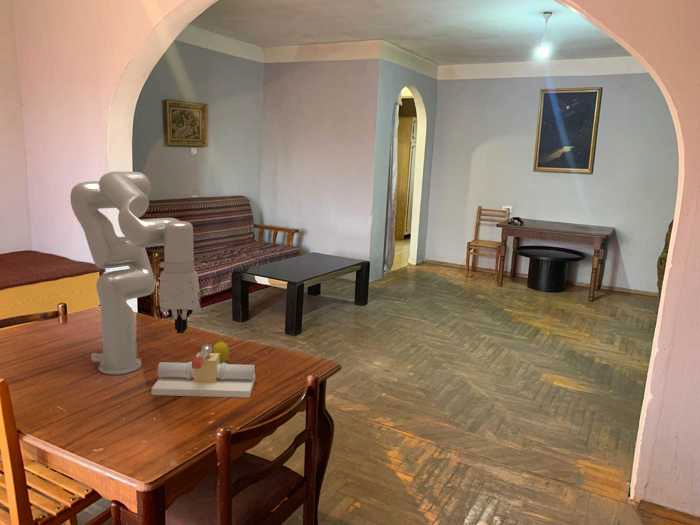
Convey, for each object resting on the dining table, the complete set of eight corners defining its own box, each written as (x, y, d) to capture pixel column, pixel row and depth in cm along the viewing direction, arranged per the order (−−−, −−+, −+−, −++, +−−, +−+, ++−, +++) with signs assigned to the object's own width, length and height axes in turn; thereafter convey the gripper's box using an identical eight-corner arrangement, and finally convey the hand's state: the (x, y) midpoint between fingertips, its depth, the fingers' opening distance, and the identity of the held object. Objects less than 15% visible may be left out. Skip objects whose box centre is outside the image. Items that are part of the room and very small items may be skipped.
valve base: (151, 395, 154) (150, 360, 152) (164, 377, 166) (163, 345, 164) (249, 397, 156) (249, 363, 153) (255, 380, 167) (255, 348, 165)
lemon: (225, 368, 175) (225, 345, 174) (209, 366, 176) (209, 343, 175) (232, 362, 181) (232, 339, 179) (216, 360, 182) (216, 337, 180)
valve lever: (202, 349, 162) (202, 343, 162) (212, 349, 162) (212, 343, 162) (190, 368, 148) (190, 362, 147) (201, 368, 148) (201, 362, 148)
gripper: (146, 269, 141) (149, 335, 144) (204, 270, 141) (205, 337, 145) (155, 263, 148) (158, 327, 152) (210, 265, 149) (211, 328, 152)
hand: (181, 331), depth 148 cm, fingers closed
